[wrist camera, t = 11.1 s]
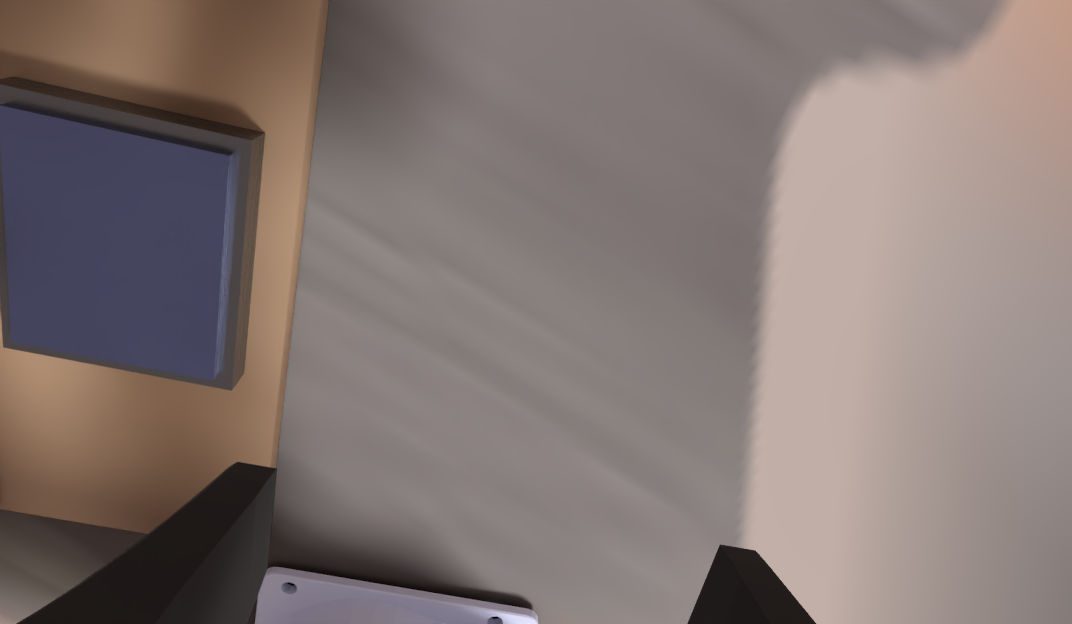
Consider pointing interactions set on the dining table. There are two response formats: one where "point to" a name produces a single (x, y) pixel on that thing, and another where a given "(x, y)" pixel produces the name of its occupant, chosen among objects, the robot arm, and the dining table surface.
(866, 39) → the dining table surface
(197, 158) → the ink pad
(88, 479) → the stamping board
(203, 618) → the robot arm
